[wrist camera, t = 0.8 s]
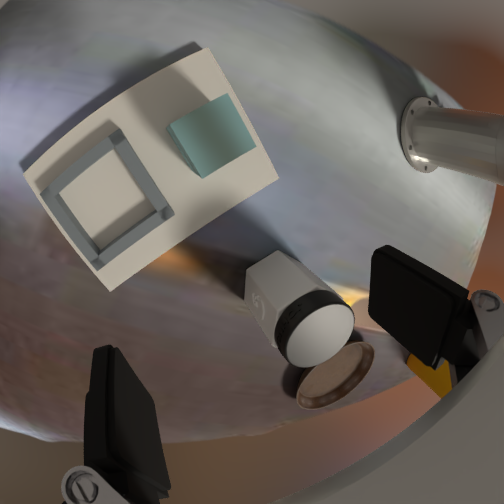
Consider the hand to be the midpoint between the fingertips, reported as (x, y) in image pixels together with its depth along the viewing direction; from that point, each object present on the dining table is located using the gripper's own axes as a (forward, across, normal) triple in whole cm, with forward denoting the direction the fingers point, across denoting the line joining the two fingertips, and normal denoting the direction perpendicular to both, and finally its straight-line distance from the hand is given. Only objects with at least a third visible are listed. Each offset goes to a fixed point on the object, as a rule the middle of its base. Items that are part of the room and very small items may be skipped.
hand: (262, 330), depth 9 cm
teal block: (+21, -3, -6) cm, 22 cm away
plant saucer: (+23, -17, +38) cm, 48 cm away
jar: (+22, -8, +14) cm, 27 cm away
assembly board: (+22, +3, -4) cm, 23 cm away
